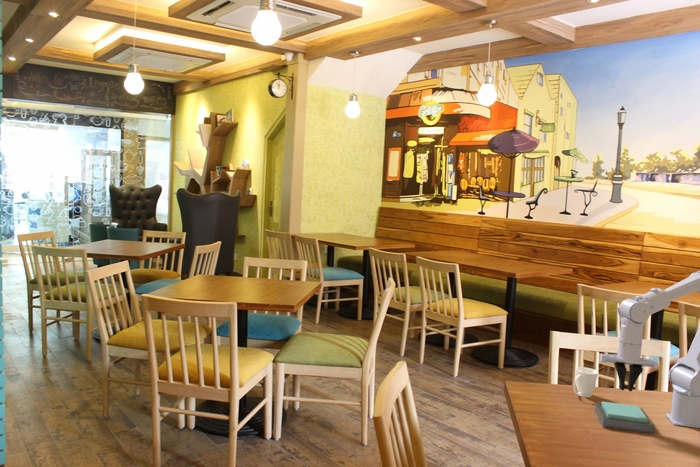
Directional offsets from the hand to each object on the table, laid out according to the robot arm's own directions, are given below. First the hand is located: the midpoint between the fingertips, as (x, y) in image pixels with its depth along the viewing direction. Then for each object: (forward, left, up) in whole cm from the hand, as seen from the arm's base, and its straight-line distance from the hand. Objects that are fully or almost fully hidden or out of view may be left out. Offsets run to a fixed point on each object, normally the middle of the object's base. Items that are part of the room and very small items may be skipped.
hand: (625, 389), depth 162 cm
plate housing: (0, 0, -9) cm, 9 cm away
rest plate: (0, 0, -7) cm, 7 cm away
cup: (+8, -19, -10) cm, 23 cm away
